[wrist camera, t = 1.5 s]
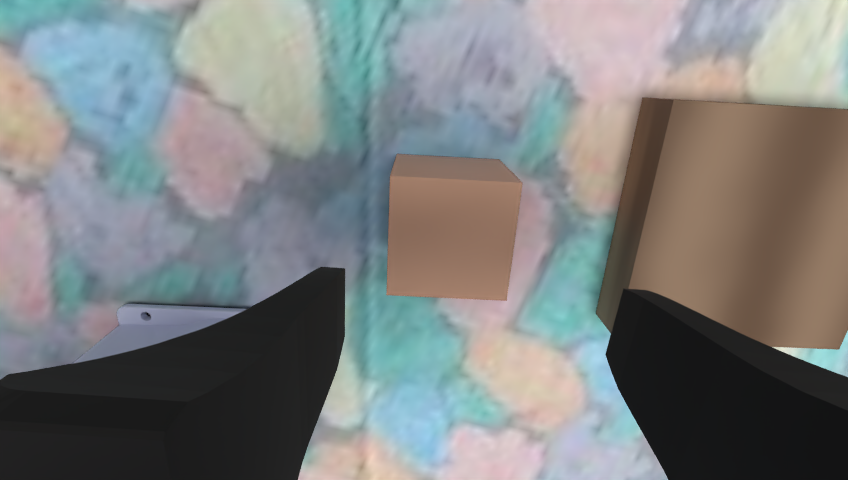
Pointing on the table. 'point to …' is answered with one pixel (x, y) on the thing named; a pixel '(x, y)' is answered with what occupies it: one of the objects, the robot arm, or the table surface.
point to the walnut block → (737, 218)
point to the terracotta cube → (451, 227)
